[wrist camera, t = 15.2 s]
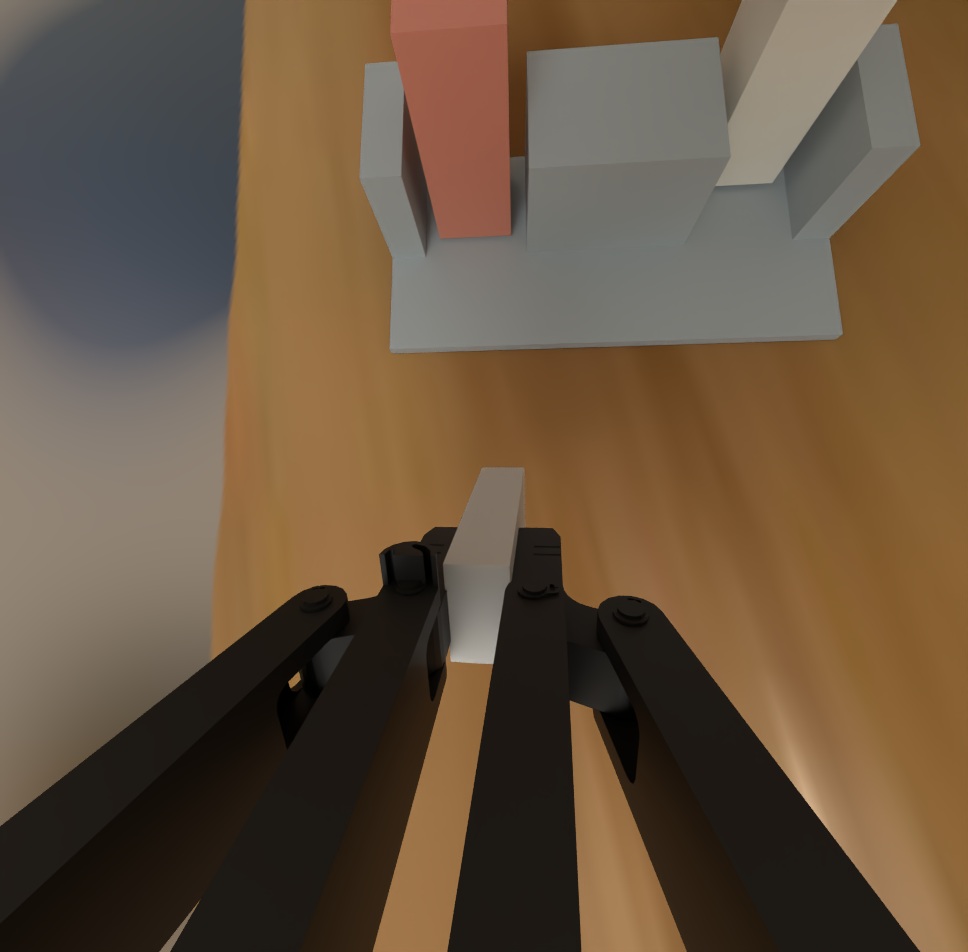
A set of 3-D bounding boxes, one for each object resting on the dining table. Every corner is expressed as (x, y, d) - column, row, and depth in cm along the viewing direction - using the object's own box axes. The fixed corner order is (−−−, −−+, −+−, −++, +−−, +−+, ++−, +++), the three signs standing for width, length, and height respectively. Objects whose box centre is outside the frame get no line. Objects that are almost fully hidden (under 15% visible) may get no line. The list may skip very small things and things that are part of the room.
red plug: (510, 172, 28) (505, -70, 17) (511, 235, 27) (507, 23, 16) (441, 176, 28) (393, -59, 17) (440, 238, 28) (390, 33, 17)
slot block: (808, 147, 28) (897, 23, 21) (835, 339, 26) (942, 266, 19) (398, 171, 30) (365, 63, 23) (392, 353, 27) (353, 290, 21)
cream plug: (764, 120, 27) (926, -165, 16) (772, 183, 27) (947, -73, 16) (691, 125, 28) (803, -153, 17) (696, 187, 27) (818, -61, 16)
